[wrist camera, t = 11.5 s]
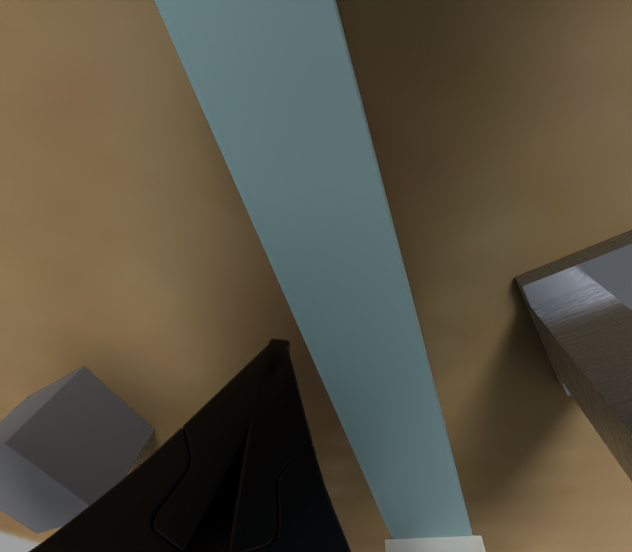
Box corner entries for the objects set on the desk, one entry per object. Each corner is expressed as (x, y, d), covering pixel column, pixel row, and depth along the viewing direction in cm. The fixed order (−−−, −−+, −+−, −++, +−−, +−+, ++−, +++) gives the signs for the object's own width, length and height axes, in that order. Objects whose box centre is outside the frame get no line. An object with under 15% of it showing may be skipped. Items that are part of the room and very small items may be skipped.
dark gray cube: (86, 363, 13) (4, 443, 10) (156, 427, 15) (101, 514, 12) (30, 394, 15) (-58, 473, 12) (98, 450, 16) (36, 533, 13)
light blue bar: (331, -51, 6) (220, -574, 1) (442, 395, 11) (507, 637, 6) (247, -9, 7) (-61, -286, 2) (389, 403, 12) (409, 634, 7)
